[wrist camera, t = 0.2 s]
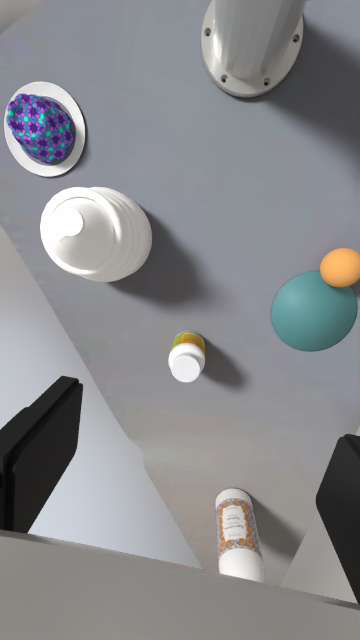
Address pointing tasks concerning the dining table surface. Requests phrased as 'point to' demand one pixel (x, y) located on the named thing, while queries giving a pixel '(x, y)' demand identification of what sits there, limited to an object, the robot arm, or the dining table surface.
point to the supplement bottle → (187, 356)
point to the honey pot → (96, 233)
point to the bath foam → (238, 536)
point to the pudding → (43, 128)
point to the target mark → (313, 312)
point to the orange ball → (341, 267)
